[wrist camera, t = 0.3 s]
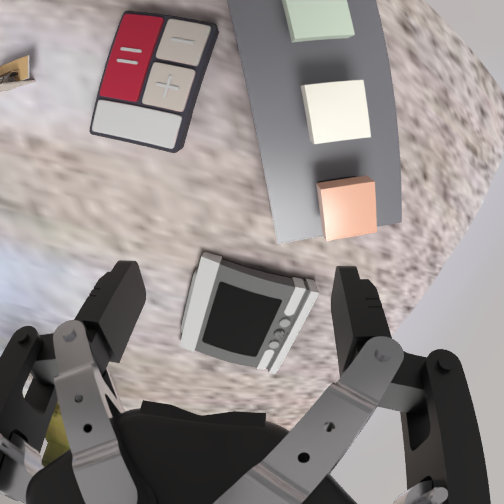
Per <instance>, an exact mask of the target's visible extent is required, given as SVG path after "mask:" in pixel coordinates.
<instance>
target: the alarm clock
mask: <svg viewBox="0 0 504 504" xmlns="http://www.w3.org/2000/svg"><path fill="white" fill-rule="evenodd" d="M222 257H223V256H219V255H215V254H212V253H208V252H204V253H203V255H202V256H201V260H200V263H199V267H198V269H196V270H195V272H194V274H193V278H192V282H191V286H190V290H189V294H188V298H187V303H186V307H185V311H184V316H183V320H182V324H181V329H180V331H181V332H183V333H182V337H181V342H180V347H182V348H184V349H187V350H189V351H192V352H194V351H195V350H196V351H199V352H201V353H204V354H206V355H209V356H212V357H215V358H218V359H221V360H224V361H227V362H231V363H235V364H239V365H245V366H251V367H256V369H262V370H265V369H268V373H272V374H276V372H277V371H278V369H279V367H280V365H281V363H282V362H283V360H284V358H285V356H286V355H287V353H288V351H289V349H290V347H291V346H292V344H293V342H294V340H295V338H296V336H297V334H298V333H299V331H300V329H301V327H302V325H303V323H304V321H305V319H306V318H307V316H308V314H309V312H310V310H311V308H312V306H313V304H314V302H315V300H316V298H317V296H318V294H319V291H318V289H317V286H316V284H315V281H314V280H311V279H307V278H306V280H305V281H303V279H301V278H296V277H292V278H288V277H283V276H279V275H274V274H270V273H266V272H262V271H258V270H254V269H251V268H248V267H244V266H241V265H238V264H235V263H232V262H229V261H226V260H223V259H222Z"/></svg>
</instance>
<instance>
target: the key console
mask: <svg viewBox="0 0 504 504" xmlns="http://www.w3.org/2000/svg"><path fill="white" fill-rule="evenodd" d="M227 1H228V6H229V10H230V14H231V18H232V23H233V27H234V32H235V36H236V40H237V45H238V49H239V54H240V58H241V63H242V67H243V72H244V77H245V81H246V86H247V90H248V95H249V100H250V105H251V109H252V114H253V119H254V124H255V129H256V134H257V139H258V144H259V149H260V154H261V159H262V164H263V169H264V174H265V179H266V184H267V190H268V195H269V200H270V205H271V211H272V216H273V222H274V227H275V233H276V238H277V244H281V243H286V242H292V241H298V240H303V239H309V238H315V237H320V236H324V235H323V233H322V226H321V217H320V209H319V201H318V193H317V185H316V183H320V181H325V180H332V179H338V178H345V177H348V178H353V177H360V176H369V177H370V178H371V179H372V180H374V181H375V194H376V218H377V226H383V225H389V224H395V223H400V222H402V204H401V169H400V151H399V137H398V126H397V116H396V107H395V99H394V91H393V84H392V77H391V71H390V65H389V59H388V53H387V48H386V43H385V38H384V33H383V28H382V24H381V19H380V15H379V11H378V7H377V3H376V0H347V3H348V7H349V11H350V15H351V20H352V24H353V29H354V33H355V35H353V36H351V37H349V38H341V39H324V40H312V41H302V42H293V43H292V42H291V37H290V33H289V28H288V24H287V20H286V15H285V11H284V7H283V3H282V0H227ZM352 80H363V81H364V87H365V94H366V101H367V108H368V116H369V124H370V132H371V137H368V138H359V139H350V140H342V141H334V142H327V143H320V144H313V143H312V142H311V141H310V137H309V131H308V125H307V119H306V113H305V107H304V102H303V96H302V91H301V86H302V85H310V84H319V83H328V82H339V81H352Z"/></svg>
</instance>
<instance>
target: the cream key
mask: <svg viewBox="0 0 504 504" xmlns="http://www.w3.org/2000/svg"><path fill="white" fill-rule="evenodd" d="M301 91H302V96H303V102H304V107H305V113H306V119H307V125H308V131H309V137H310V141H311V142H312V143H313V144H320V143H327V142H334V141H342V140H350V139H359V138H368V137H371V132H370V124H369V116H368V108H367V101H366V94H365V87H364V81H363V80H352V81H339V82H328V83H319V84H310V85H302V86H301Z"/></svg>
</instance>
